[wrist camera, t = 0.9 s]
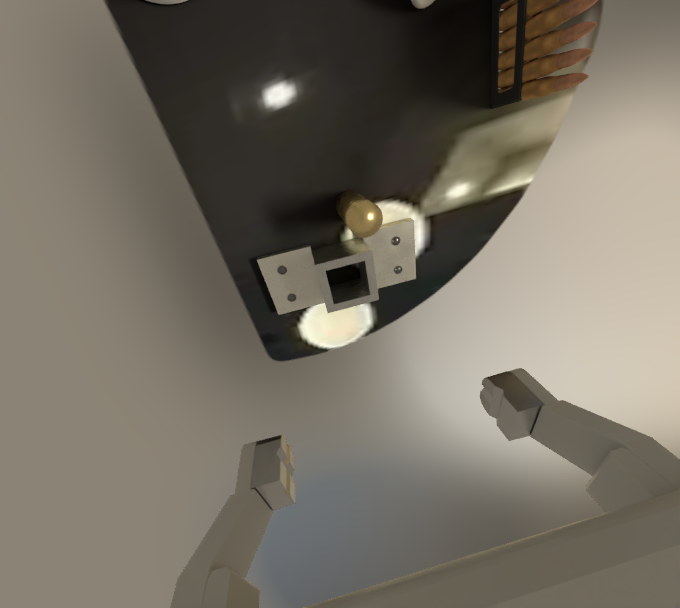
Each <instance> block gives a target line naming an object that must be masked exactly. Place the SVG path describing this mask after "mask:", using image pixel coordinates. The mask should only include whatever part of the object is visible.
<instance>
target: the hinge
mask: <svg viewBox="0 0 680 608" xmlns="http://www.w3.org/2000/svg"><path fill="white" fill-rule="evenodd" d="M257 262H258V264H259V267H260V269H261V272H262V274H263V277H264V279H265V282H266V284H267V287H268V289H269V292H270V294H271V297H272V299H273V302H274V304H275V307H276V309H277V312H278V314H279V315H280V314H284V313H287V312H291V311H295V310H299V309H303V308H306V307H310V306H314V305H318V304H321V303H325V304H326V308H327V312H328V313H330V312H334V311H338V310H342V309H345V308H349V307H353V306H357V305H360V304H364V303H368V302H372V301H375V300H379V296H378V288H382V287H386V286H389V285H393V284H397V283H401V282H405V281H408V280H412V279H416V265H415V240H414V220H413V219H411V218H410V219H406V220H402V221H398V222H394V223H390V224H386V225H382V226H381V227H380V229H379V230H378V231H377V232H376V233H375V234H374V235H372V236H370V237H367V238H361V237H360V238H357V239H353V240H349V241H345V242H341V243H337V244H333V245H329V246H325V247H321V248H317V249H313V250H311V248H310V244H307V245H303V246H299V247H295V248H291V249H287V250H283V251H279V252H275V253H271V254H267V255H264V256H260V257H257ZM354 263H358V266H359V272H360V278H358V279H354V280H350V281H346V282H342V283H339V284H335V285H331V286H329V283H328V279H327V275H326V271H327V270H331V269H335V268H339V267H342V266H346V265H350V264H354Z"/></svg>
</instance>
